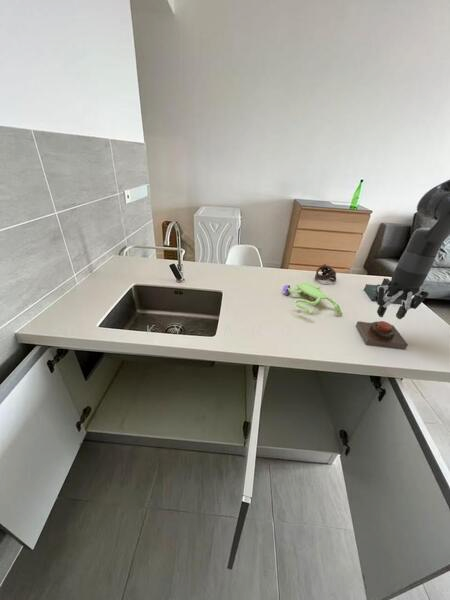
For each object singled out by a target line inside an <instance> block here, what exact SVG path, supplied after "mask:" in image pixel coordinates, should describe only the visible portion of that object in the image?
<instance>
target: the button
mask: <svg viewBox="0 0 450 600" xmlns="http://www.w3.org/2000/svg"><path fill="white" fill-rule="evenodd" d="M377 322H378V324H377V326H376V328H377V329H379V330H380V331H383V332H390V330H391V328H392V326H391V325H392V324H391V323H389V322H387V321H384V320H379V321H377Z"/></svg>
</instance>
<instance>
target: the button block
mask: <svg viewBox="0 0 450 600" xmlns="http://www.w3.org/2000/svg"><path fill="white" fill-rule="evenodd" d="M378 322H379V321H372V322H366V321H358V320H357V322H356V324H355V328H356V330H357V332H358V334H359V336H360V337H361V339H362V341H363V343H364V345H365V346H369V347H370V346H371V347H378V348H379V347H380V348H388V349H394V350H395V349H396V350H403V351H405V350H407V347H408V343H407V341H406V339H404V337H403V336H402V334H401V333H400V331H398V329H397V328H396V327H395V326H394V325H393V324H390V325H391V326H392V328H391V330H390V332H383V331H380V330H379V329H377V328H376V326H377V324H378Z"/></svg>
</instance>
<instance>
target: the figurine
mask: <svg viewBox="0 0 450 600" xmlns="http://www.w3.org/2000/svg"><path fill="white" fill-rule="evenodd" d="M296 287H297V288H298V290H297V289H296V290H295V289H291V285H289V284H286V285H284V286H283V287H282V293H283V294H284V295H285V296H289V295H290V293H292V294H301V293H303V296H306V295H308V296H309V299H310V300H311V301H310V300H308V299H305V298H297V299H295V305H296V308H299V309H303V310H305V311H306V312H307V313H308V314H310V315H311V316H312V315H314V312H313V310H312V309H311V308H309V307H308V306H306V305H304V304H307V305H312V306H313V305H314V306H315V305H317V304H319V302H320V301H321V300H326V301H329V302H330V304H332V305H333V308H334V310H335V311H336V312H337V313H338V315H339V316H343V312H342V310H341V307H340V305H339V304H338V303H337V302H336V301H335V300H334V299H332V298H331V297H329V296H328V295H326V294H325V293H324V292H322V291H321V290H320V289H321V286H316V285H314V284H311V283H310V282H309V283H308V282H307V281H303V282H298V283H296ZM313 298H315V299H316V300H315V301H313V300H314V299H313ZM299 303H304V304H303V305H302V304H299Z"/></svg>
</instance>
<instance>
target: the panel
mask: <svg viewBox="0 0 450 600" xmlns="http://www.w3.org/2000/svg"><path fill="white" fill-rule="evenodd" d="M377 285H378V284H369V283H365V286H364V288H363V291H364V292H365V294H366V295H367V296H368V298H369V299H370V301H371V302H375V303H377V302H376V301H375V294H376V287H377ZM384 295H385V293H384ZM384 295H383V298H384ZM390 298H391V296H390ZM392 304H395V305H402V300H401V299H396V300H395V301H394V302H393V303H392Z"/></svg>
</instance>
